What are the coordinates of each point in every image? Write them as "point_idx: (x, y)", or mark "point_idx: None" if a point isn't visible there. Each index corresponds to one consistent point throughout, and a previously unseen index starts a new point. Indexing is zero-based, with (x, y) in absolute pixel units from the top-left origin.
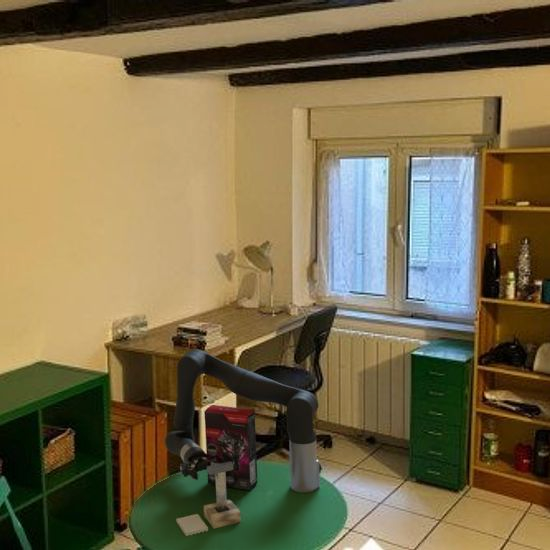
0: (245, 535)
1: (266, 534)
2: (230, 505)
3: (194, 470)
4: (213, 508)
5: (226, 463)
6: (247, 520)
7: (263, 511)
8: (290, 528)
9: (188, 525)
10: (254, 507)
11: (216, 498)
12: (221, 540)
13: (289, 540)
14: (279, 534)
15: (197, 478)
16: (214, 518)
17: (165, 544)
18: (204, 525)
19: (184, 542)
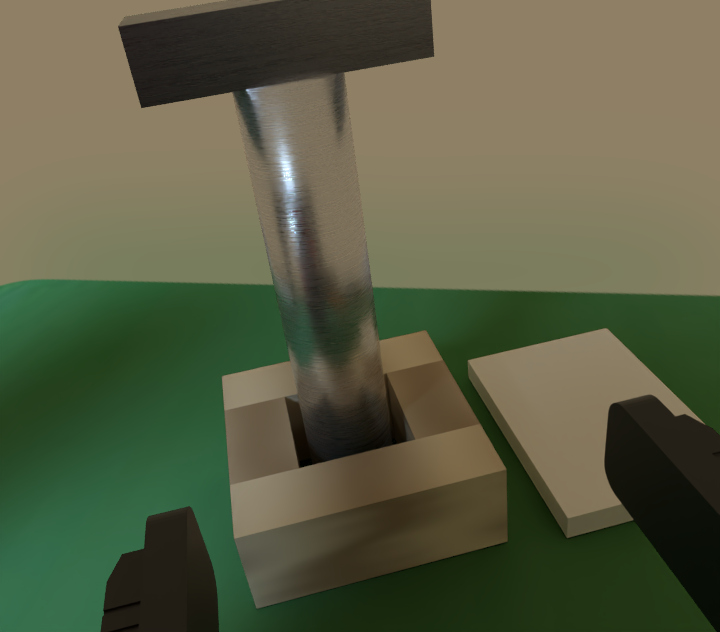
0: (262, 336)
1: (158, 337)
2: (264, 448)
3: (716, 495)
4: (415, 423)
5: (190, 10)
6: (190, 450)
7: (18, 541)
8: (15, 366)
9: (611, 388)
10: (39, 614)
11: (377, 327)
12: (395, 313)
13: (89, 302)
14: (99, 333)
15: (611, 457)
16: (417, 336)
17: (712, 301)
18: (492, 380)
19: (601, 308)
